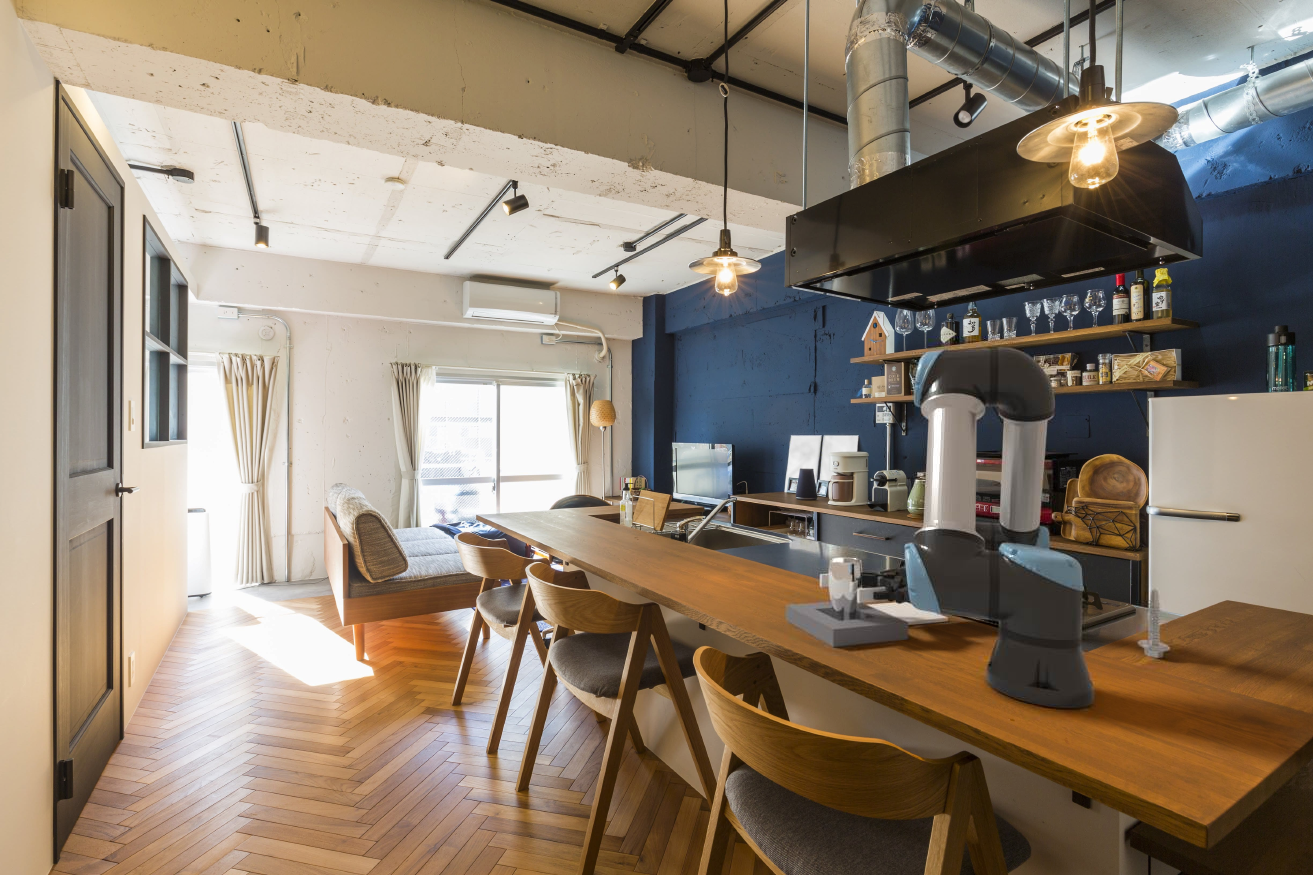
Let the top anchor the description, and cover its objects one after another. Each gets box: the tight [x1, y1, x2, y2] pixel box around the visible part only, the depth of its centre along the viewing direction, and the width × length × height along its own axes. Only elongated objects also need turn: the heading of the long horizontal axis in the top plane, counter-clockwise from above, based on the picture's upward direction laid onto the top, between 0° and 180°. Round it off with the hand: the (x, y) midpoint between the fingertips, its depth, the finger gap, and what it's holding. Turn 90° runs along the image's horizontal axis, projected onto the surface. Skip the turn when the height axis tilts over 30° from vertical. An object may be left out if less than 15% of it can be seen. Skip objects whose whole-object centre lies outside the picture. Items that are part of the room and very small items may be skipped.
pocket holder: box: [785, 601, 909, 648], centre depth 132 cm, size 18×18×4 cm
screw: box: [1137, 588, 1171, 659], centre depth 119 cm, size 13×5×5 cm
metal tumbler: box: [828, 556, 863, 621], centre depth 132 cm, size 7×7×15 cm
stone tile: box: [867, 601, 949, 626], centre depth 144 cm, size 14×14×1 cm
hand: (838, 587), depth 132 cm, fingers open, 13 cm apart
